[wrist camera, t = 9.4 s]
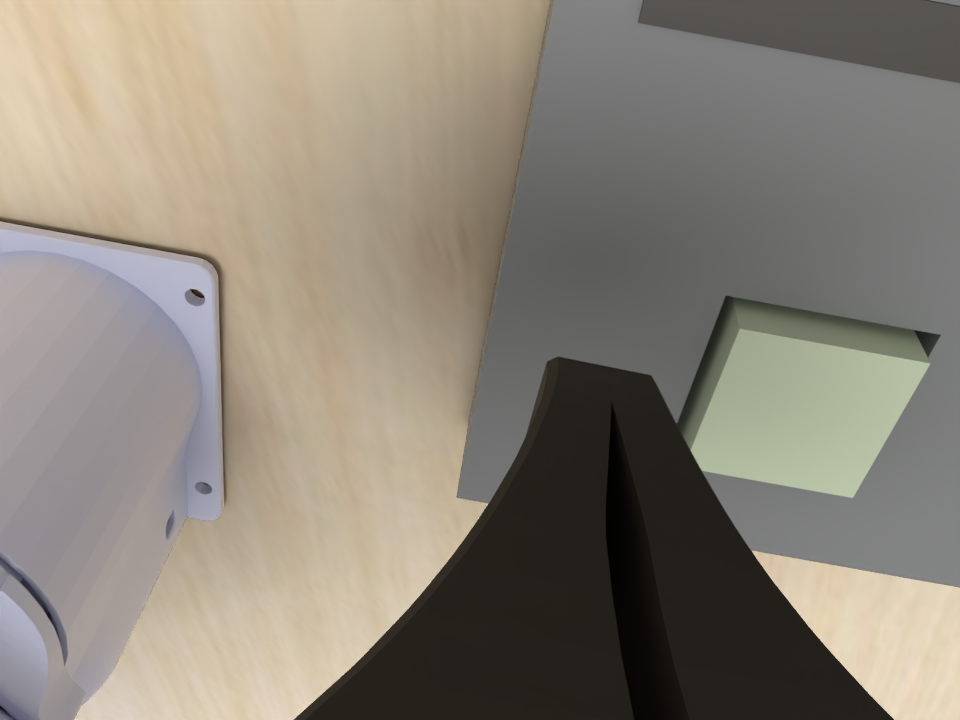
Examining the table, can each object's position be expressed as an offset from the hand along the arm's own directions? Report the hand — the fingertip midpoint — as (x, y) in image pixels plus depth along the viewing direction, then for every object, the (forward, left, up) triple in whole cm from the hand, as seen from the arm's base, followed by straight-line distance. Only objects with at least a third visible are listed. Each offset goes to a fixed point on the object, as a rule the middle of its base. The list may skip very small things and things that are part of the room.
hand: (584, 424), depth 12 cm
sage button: (-4, -6, -10) cm, 12 cm away
